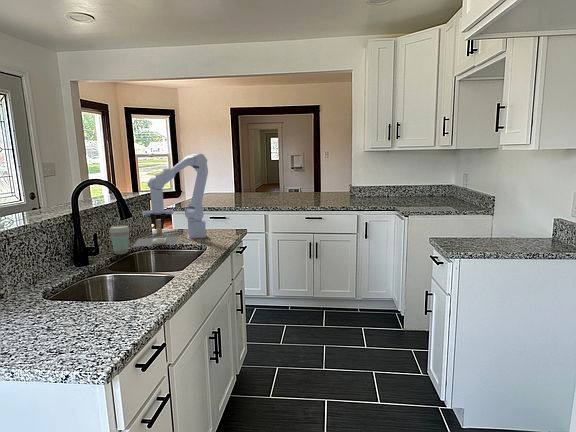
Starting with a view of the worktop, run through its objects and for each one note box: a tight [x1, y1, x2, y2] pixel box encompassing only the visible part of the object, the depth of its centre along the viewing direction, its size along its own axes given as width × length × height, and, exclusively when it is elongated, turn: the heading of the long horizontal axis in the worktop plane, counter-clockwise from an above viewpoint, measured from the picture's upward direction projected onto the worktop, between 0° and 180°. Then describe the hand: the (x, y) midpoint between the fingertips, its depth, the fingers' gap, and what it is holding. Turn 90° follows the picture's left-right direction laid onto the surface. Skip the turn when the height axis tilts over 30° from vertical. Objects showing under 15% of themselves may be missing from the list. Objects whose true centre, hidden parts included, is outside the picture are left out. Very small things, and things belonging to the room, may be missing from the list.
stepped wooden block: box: [154, 218, 165, 237], centre depth 192 cm, size 4×4×8 cm
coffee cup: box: [109, 225, 130, 255], centre depth 173 cm, size 9×8×12 cm
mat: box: [131, 236, 179, 248], centre depth 194 cm, size 20×18×1 cm
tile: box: [152, 237, 167, 244], centre depth 191 cm, size 6×2×6 cm
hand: (159, 228), depth 192 cm, fingers closed on stepped wooden block, 2 cm apart
